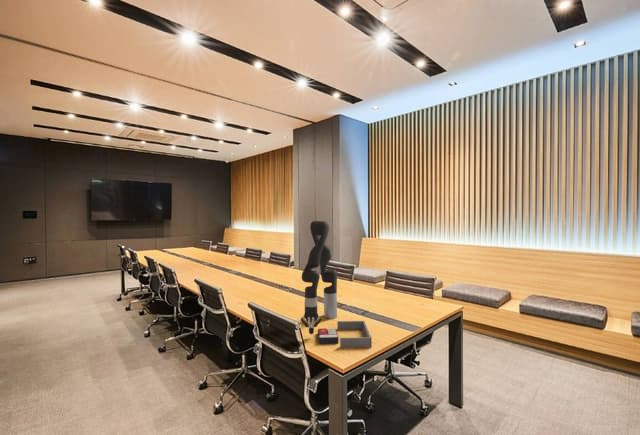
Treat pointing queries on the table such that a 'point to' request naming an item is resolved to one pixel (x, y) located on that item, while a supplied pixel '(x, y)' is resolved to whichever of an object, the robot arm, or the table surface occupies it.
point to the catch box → (354, 341)
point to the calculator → (328, 336)
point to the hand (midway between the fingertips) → (311, 333)
